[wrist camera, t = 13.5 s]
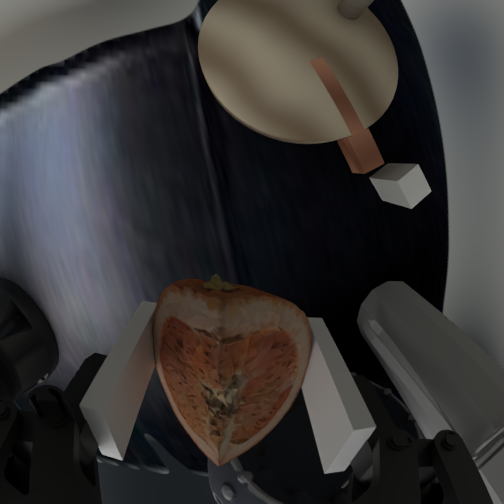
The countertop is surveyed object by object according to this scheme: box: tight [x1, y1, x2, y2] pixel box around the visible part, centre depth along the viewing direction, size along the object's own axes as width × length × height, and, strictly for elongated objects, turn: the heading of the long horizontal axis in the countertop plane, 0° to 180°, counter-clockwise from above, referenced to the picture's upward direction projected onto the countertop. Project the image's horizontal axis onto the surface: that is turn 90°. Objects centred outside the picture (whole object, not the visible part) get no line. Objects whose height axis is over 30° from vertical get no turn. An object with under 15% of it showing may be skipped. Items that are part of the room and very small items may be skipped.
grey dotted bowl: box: [208, 372, 422, 504], centre depth 20 cm, size 11×20×20 cm, turn 83°
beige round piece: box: [198, 0, 398, 174], centre depth 14 cm, size 16×19×10 cm
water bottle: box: [357, 281, 504, 504], centre depth 15 cm, size 9×8×25 cm
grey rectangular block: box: [369, 163, 431, 209], centre depth 20 cm, size 2×2×5 cm
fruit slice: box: [152, 274, 312, 467], centre depth 10 cm, size 8×7×5 cm
